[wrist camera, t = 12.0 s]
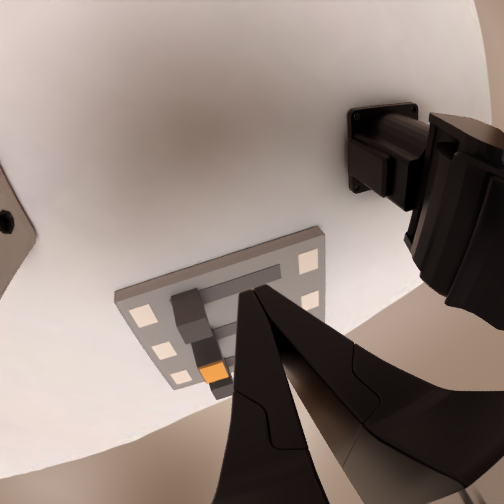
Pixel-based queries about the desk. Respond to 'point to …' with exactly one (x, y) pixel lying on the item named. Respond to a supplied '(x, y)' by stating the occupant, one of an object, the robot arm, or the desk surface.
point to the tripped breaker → (210, 359)
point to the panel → (219, 302)
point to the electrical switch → (12, 235)
